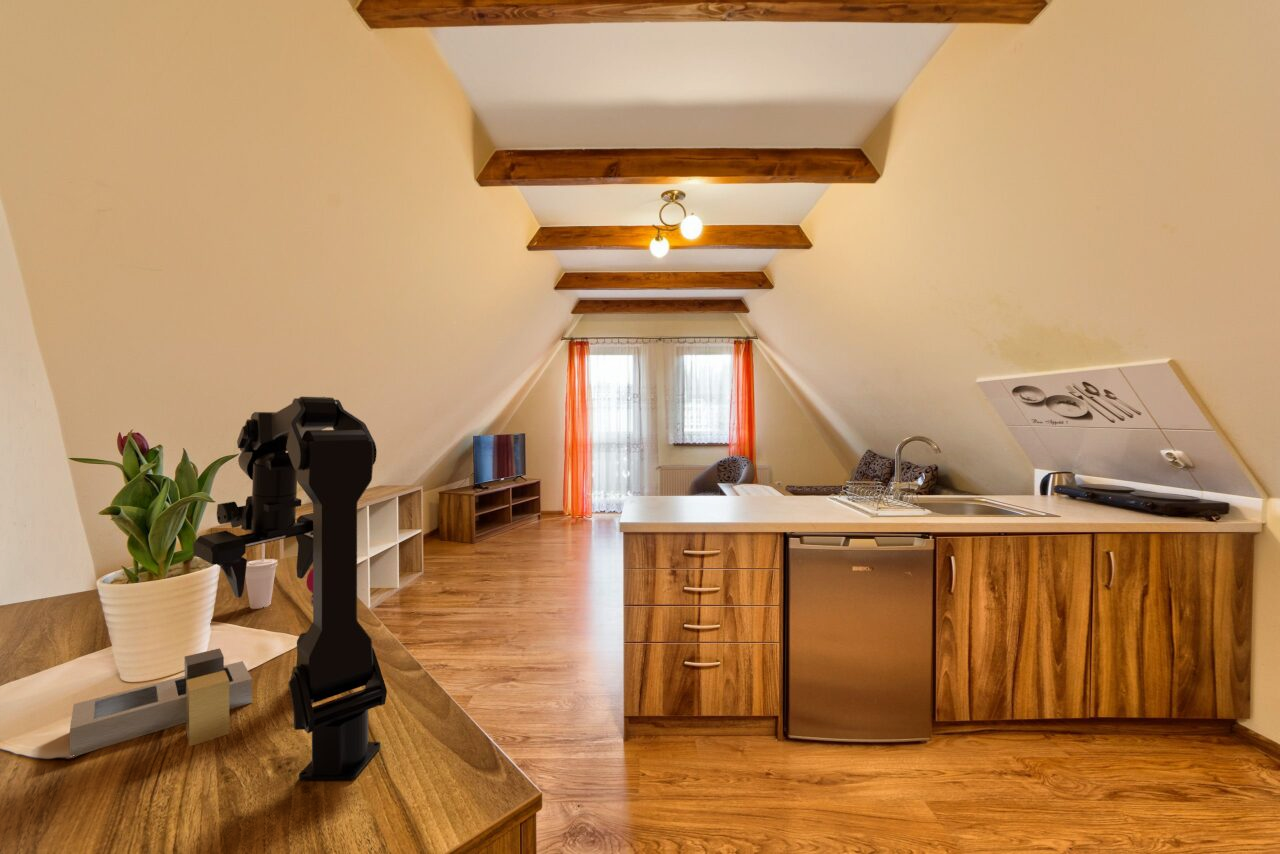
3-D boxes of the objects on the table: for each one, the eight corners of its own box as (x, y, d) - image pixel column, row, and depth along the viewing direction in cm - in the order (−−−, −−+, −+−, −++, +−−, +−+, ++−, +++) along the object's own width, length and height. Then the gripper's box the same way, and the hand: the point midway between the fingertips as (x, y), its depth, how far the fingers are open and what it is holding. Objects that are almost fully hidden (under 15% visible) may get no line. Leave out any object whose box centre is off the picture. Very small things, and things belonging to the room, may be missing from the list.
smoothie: (283, 604, 119) (283, 541, 118) (250, 613, 113) (250, 547, 113) (269, 599, 122) (269, 538, 122) (237, 607, 117) (236, 543, 116)
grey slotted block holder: (242, 683, 83) (242, 638, 83) (251, 702, 77) (251, 654, 77) (73, 730, 70) (73, 677, 70) (70, 757, 64) (69, 700, 64)
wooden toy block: (229, 733, 69) (229, 680, 69) (189, 746, 67) (189, 691, 66) (225, 721, 72) (224, 670, 72) (186, 733, 69) (186, 680, 69)
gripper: (303, 472, 94) (299, 556, 96) (174, 490, 77) (172, 590, 79) (344, 486, 89) (338, 574, 91) (216, 508, 73) (212, 615, 75)
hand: (270, 586), depth 84 cm, fingers open, 9 cm apart
